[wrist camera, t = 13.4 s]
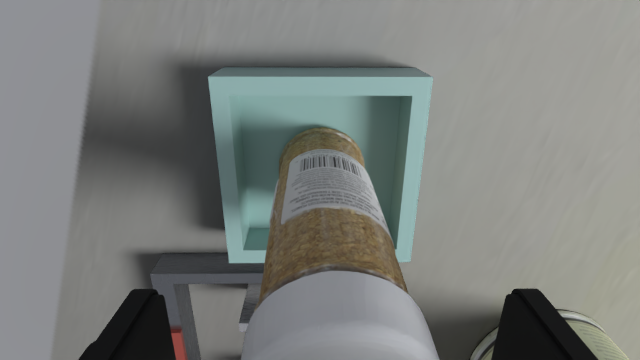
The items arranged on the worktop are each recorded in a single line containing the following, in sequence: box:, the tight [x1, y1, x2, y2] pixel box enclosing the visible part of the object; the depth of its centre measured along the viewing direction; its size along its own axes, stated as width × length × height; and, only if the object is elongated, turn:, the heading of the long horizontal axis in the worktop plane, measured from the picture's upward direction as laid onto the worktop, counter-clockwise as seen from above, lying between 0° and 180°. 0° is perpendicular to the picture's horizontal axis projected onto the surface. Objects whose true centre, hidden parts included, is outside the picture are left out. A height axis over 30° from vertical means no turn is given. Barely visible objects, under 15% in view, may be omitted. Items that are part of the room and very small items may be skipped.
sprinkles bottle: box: [241, 127, 439, 360], centre depth 14 cm, size 5×5×14 cm
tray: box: [208, 67, 433, 263], centre depth 19 cm, size 10×10×3 cm
